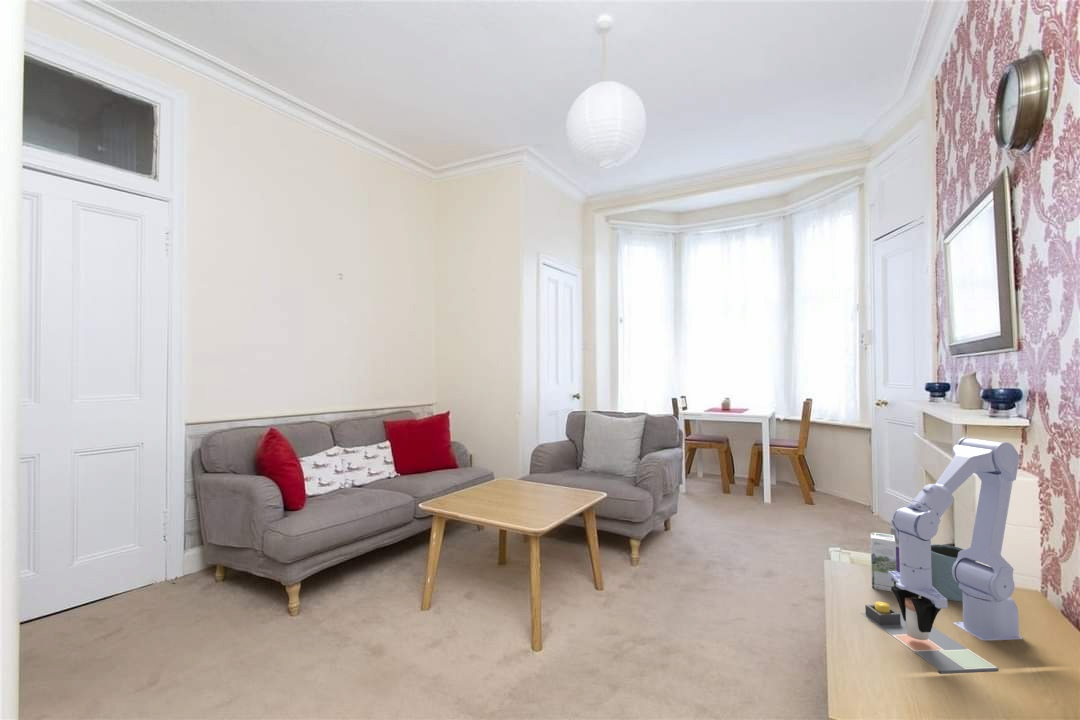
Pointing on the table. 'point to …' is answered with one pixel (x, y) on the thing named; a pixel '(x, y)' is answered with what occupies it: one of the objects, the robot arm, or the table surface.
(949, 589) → the teal plant pot
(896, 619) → the button housing
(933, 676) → the table surface
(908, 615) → the white cylinder
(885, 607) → the button
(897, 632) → the colouring board
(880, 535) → the syrup box
